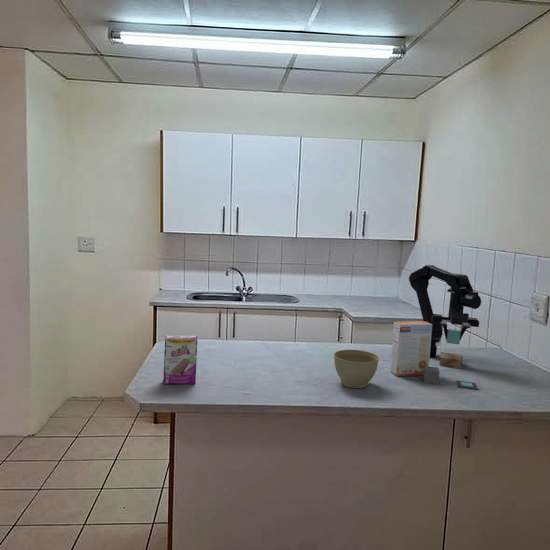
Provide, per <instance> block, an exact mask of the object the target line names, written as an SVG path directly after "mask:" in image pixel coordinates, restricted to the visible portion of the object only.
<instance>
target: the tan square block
mask: <svg viewBox="0 0 550 550" xmlns="http://www.w3.org/2000/svg"><path fill="white" fill-rule="evenodd" d="M463 362H464V361H463V354H458V353H451V352H450V353H449V352H443V351H440V355H439V364H438V365H439V367H448V368H452V369H459V370H460V369H461V370H462V369H463Z"/></svg>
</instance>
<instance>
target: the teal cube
mask: <svg viewBox="0 0 550 550" xmlns="http://www.w3.org/2000/svg"><path fill="white" fill-rule="evenodd" d="M460 334H461V333H460V330H459V329H453V328H452V329H451V328H447V339H446V338H445V341H446V343H447V344H450V345H451V344H453V345H460V342H461V340H460Z"/></svg>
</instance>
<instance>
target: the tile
mask: <svg viewBox="0 0 550 550" xmlns="http://www.w3.org/2000/svg"><path fill="white" fill-rule="evenodd" d="M455 382H456V386H457V388H461V389H469V390H476V391H477V390H479V388H478V386H477V383H476V382H471V381H464V380H455Z"/></svg>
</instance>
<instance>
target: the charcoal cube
mask: <svg viewBox="0 0 550 550" xmlns="http://www.w3.org/2000/svg"><path fill="white" fill-rule="evenodd" d="M439 380H440V369H439V367H436V366H435V367H434V366H429V367H428V366H425V369H424V375H423V381H424V383H426V384H433V385H439Z"/></svg>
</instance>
